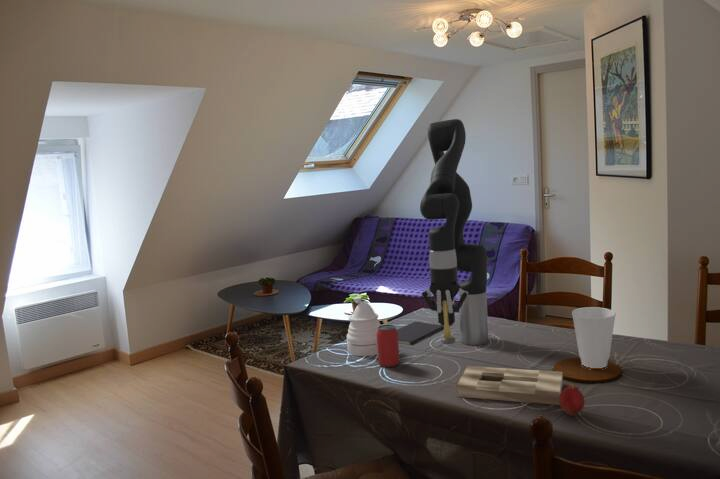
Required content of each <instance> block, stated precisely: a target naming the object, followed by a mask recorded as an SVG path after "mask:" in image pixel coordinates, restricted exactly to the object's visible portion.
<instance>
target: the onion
mask: <svg viewBox="0 0 720 479" xmlns="http://www.w3.org/2000/svg"><path fill="white" fill-rule="evenodd" d="M559 403H560V405H559V406H560V408H561V409H562V410H563V411H564V412H565V413H567V414H568V415H569V416H571V417H573V416H575V415H577V414H578V413H579V412H581V411H582V410H583V409H584V407H585V398H584V395H583V393H582V391H581V390H579V389H578V388H577V387H575V386H574V384H572V383H569V385H568V386H567V387H565V388H564V389H562V392H561V394H560V396H559Z"/></svg>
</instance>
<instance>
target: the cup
mask: <svg viewBox="0 0 720 479" xmlns="http://www.w3.org/2000/svg"><path fill="white" fill-rule="evenodd" d="M571 315H572V320H573V327H574V332H575V337H576V344H577V350H578V356H579V358H580V362H581V366H582V365H584V366H586V367H590V368H603V367H606V366H607V367H608V360H609V359H610V355H611V347H612V340H613V333H614V326H615V320H616V319H615V318H616V312H615V311H614V310H612V309H610V308H604V307H599V306H598V307H596V306H588V307H587V306H585V307H580V308H575V309H573V310H572V311H571ZM607 367H606V368H607Z"/></svg>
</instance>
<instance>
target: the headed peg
mask: <svg viewBox="0 0 720 479" xmlns="http://www.w3.org/2000/svg"><path fill="white" fill-rule="evenodd" d="M442 305H443V321H444V325H443V326H444V329H443V333H444V334H443V335H444V336H442V337H440V339H439V340H440V341H439V342H440V343H441V344H443V345H452V344H455V343H456V337H455V336H453V335H451V334H452V333H451V326H449V317H448V313H449V310H448V305H447V301H445V300H444V301H442Z"/></svg>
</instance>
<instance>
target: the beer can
mask: <svg viewBox="0 0 720 479" xmlns="http://www.w3.org/2000/svg"><path fill="white" fill-rule="evenodd" d="M377 347H378V354H377V358H378V359H377V360H378V364H379V365H380V366H381V367H384V368H393V367H395V366H396V367H397V366H398V365H399V364H400V350H399V349H400V348H399V343H398V333H397V327H396V326H395V325H393V324H381V326H379V327H378V331H377Z"/></svg>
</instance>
